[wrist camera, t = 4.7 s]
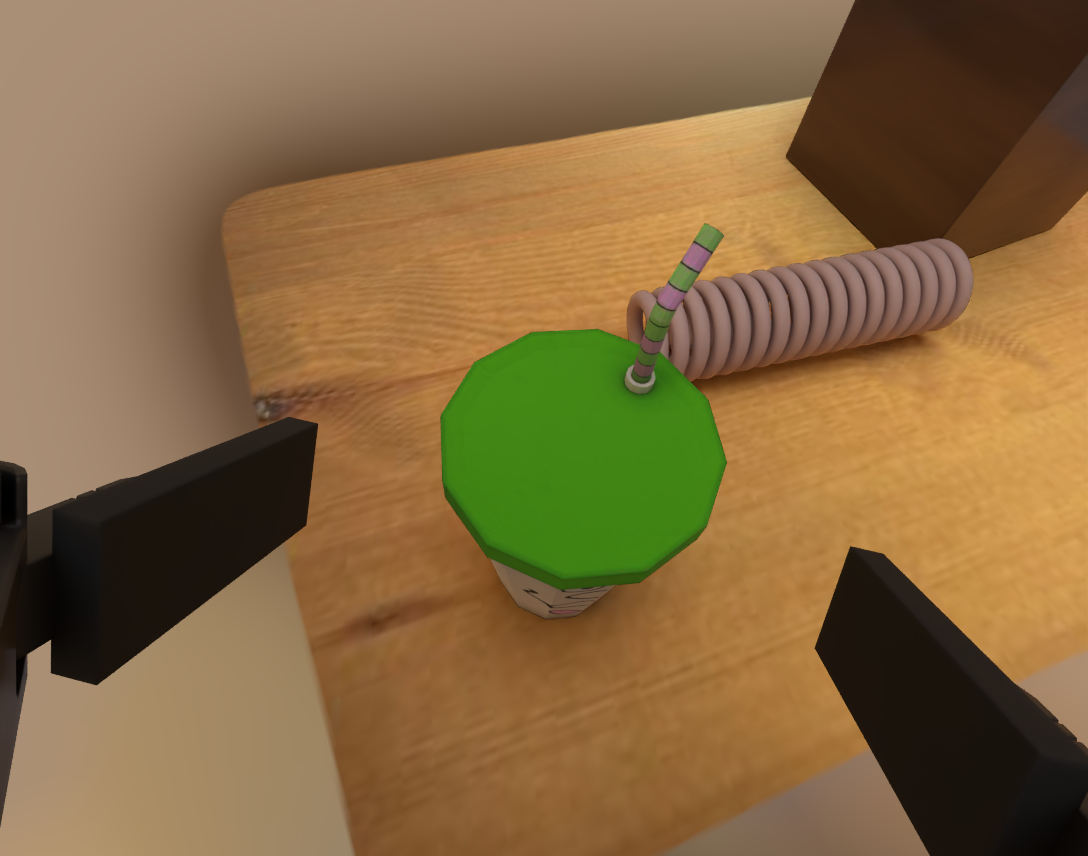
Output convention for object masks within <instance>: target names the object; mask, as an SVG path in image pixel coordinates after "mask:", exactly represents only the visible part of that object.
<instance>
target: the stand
mask: <svg viewBox="0 0 1088 856" xmlns="http://www.w3.org/2000/svg"><path fill="white" fill-rule="evenodd" d="M786 157H787V158H788V159H789V160H790V161H791V162H792V163H793V164H794V165H795V166H796V167H797V168H798V169H799V170H800V171H801V172H802V173H803V174H804V175H805V176H806V177H807V178H808V179H809V180H810V181H811V182H812V183H813V184H814V185H815V186H816V187H817V188H818V189H819V190H820V191H821V192H822V193H823V194H824V195H825V196H826V197H827V198H828V199H829V200H830V201H831V202H832V203H833V204H834V205H835V206H836V207H837V208H838V209H839V210H840V211H841V212H842V213H843V214H844V215H845V216H846V217H847V218H848V219H849V220H850V221H851V222H852V223H853V224H854V225H855V226H856V227H857V228H858V229H859V230H860V231H861V232H862V233H863V234H864V235H865V236H866V237H867V238H868V239H869V240H870V241H871V242H872V243H873V244H874V245H875V246H876V247H877V248H878V249H880V248H887V247H888V248H891V247H893V246H897V245H904V244H905V245H907V244H910V243H914V242H921V241H922V242H924V241H927V240H931V239H945V240H949V241H951V242H953V243H954V244H956V245H957V246H959V247H960V248H961V249H962V250H963V251H964V253H965V254H966V256H967V257H968V258H970V257H973V256H976V255H979V254H981V253H984V252H987V251H990V250H993V249H995V248H998V247H1001V246H1004V245H1007V244H1009V243H1012V242H1015V241H1018V240H1021V239H1024V238H1026V237H1029V236H1032V235H1035V234H1038V233H1040V232H1043V231H1046V230H1049V229H1051V228H1053V227H1054V226H1055V224H1056V223H1057V222H1058V221H1059V220H1060V219H1061V218H1062V217H1063V216H1064V215H1065V214H1066V213H1067V212H1068V211H1069V210H1070V209H1071V208H1072V207H1073V206H1074V205H1075V204H1076V203H1077V202H1078V201H1079V200H1080V199H1081V198H1082V197H1083V195H1084V194H1085V193H1086V192H1087V191H1088V0H855V2H854V4H853V6H852V9H851V11H850V13H849V15H848V18H847V20H846V22H845V24H844V27H843V29H842V31H841V33H840V36H839V38H838V40H837V42H836V44H835V47H834V49H833V51H832V53H831V56H830V58H829V60H828V62H827V65H826V67H825V69H824V72H823V74H822V76H821V78H820V80H819V83H818V85H817V87H816V89H815V92H814V94H813V96H812V98H811V101H810V103H809V105H808V107H807V110H806V112H805V114H804V116H803V119H802V121H801V123H800V125H799V128H798V130H797V132H796V134H795V137H794V139H793V141H792V143H791V146H790V148H789V150H788V152H787V155H786Z"/></svg>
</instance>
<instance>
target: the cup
mask: <svg viewBox="0 0 1088 856" xmlns="http://www.w3.org/2000/svg"><path fill="white" fill-rule="evenodd" d="M723 237H724V235H723V234H722V233H721V232H720V231H718V230H717V229H716V228H714V227H712V226H710V225H708V224H704V225H703V227H702V229H701V230H700V232H699V233H698V235H697V236H696V238H695V240H694V241H693V243H692V244H691V246H690V248H689V249H688V251H687V252H686V254H685V255H684V257H683V259H682V260H681V262H680V263H679V265H678V267H677V268H676V270H675V271H674V273H673V275H672V276H671V278H670V279H669V281H668V282H667V284H666V286H665V287H664V289H663V290H662V292H661V294H660V295H659V297H658V299H657V301H656V303H655V305H654V307H653V309H652V311H651V313H650V316H649V319H648V322H647V325H646V328H645V331H644V335H643V338H642V341H641V344H640V345H639V344H637V343H634V342H631V341H629V340H626V339H623V338H621V337H618V336H615V335H612V334H610V333H607V332H604V331H602V330H599V329H589V330H567V331H546V332H531V333H529V334H527V335H525V336H523V337H521V338H519V339H518V340H516V341H514V342H512V343H510V344H508V345H506V346H504V347H502V348H500V349H499V350H497V351H495V352H493V353H491V354H489V355H487V356H485V357H483V358H481V359H480V360H478V361H476V362H474V364H473V365H472V367H471V368H470V370H469V372H468V373H467V375H466V376H465V378H464V379H463V381H462V383H461V384H460V386H459V387H458V389H457V390H456V392H455V394H454V395H453V397H452V398H451V400H450V401H449V403H448V405H447V406H446V408H445V409H444V411H443V413H442V414H441V450H442V482H443V487H444V493H445V497H446V499H447V501H448V502H449V504H450V505H451V507H452V508H453V509H454V511H455V512H456V514H457V515H458V517H459V518H460V519H461V521H462V522H463V524H464V525H465V526H466V528H467V529H468V531H469V532H470V534H471V535H472V536H473V538H474V539H475V541H476V542H477V543H478V545H479V546H480V548H481V549H482V551H483V552H484V553H485V555H486V556H487V557H488V558H490V559H491V561H492V564H493V566H494V568H495V570H496V572H497V574H498V576H499V578H500V581H501V583H502V584H503V585H504V587H505V588H506V590H507V591H508V593H509V594H510V595H511V597H512V598H513V600H514V601H515V603H516V604H517V605H518V607H520V608H522V609H525V610H527V611H529V612H531V613H533V614H535V615H538V616H540V617H542V618H544V619H554V618H565V617H575V616H577V615H578V614H580V613H581V612H582V611H584V610H585V609H586V608H588V607H589V606H590V605H592V604H593V603H594V602H596V601H597V600H598V599H600V598H601V597H602V596H603V595H605V594H606V593H607V592H608V591H610V590H611V589H612V588H613V587H615V586H616V585H622V584H633V583H640V582H641V581H643V580H644V579H645V578H647V577H648V576H649V575H651V574H652V573H653V572H655V571H656V570H657V569H658V568H660V567H661V566H662V565H664V564H665V563H666V562H668V561H669V560H670V559H672V558H673V557H674V556H676V555H677V554H678V553H680V552H681V551H682V550H684V549H685V548H686V547H687V546H689V545H690V544H691V543H693V542H694V541H695V540H697V539H698V537H699V536H700V535H701V533H702V532H703V531H704V529H705V528H706V527H707V524H708V521H709V517H710V514H711V511H712V508H713V505H714V502H715V498H716V495H717V492H718V489H719V486H720V483H721V480H722V476H723V473H724V470H725V467H726V464H727V461H726V457H725V454H724V451H723V447H722V444H721V440H720V437H719V434H718V430H717V427H716V424H715V420H714V417H713V413H712V410H711V407H710V403H709V400H708V399H707V398H706V397H705V396H704V395H703V394H702V393H701V392H700V391H699V390H698V389H697V388H696V387H695V386H694V385H693V384H692V383H691V382H690V381H689V380H688V379H687V378H686V377H685V376H684V375H683V374H682V373H681V372H680V371H679V370H678V369H677V368H676V367H675V366H674V365H673V364H672V363H671V362H670V361H669V360H668V359H667V358H666V357H665V356H664V355H663V354H662V353H661V352H660V350H661V347H662V344H663V342H664V339H665V336H666V333H667V330H668V328H669V325H670V322H671V320H672V318H673V316H674V314H675V312H676V310H677V308H678V306H679V305H680V303H681V302H682V300H683V299H684V297H685V296H686V294H687V292H688V291H689V289H690V288H691V286H692V285H693V283H694V282H695V280H696V278H697V277H698V275H699V274H700V272H701V271H702V269H703V268H704V266H705V265H706V263H707V261H708V260H709V258H710V257H711V255H712V254H713V252H714V251H715V249H716V247H717V246H718V244H719V243H720V241H721V240H722V238H723Z"/></svg>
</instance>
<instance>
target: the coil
mask: <svg viewBox="0 0 1088 856" xmlns="http://www.w3.org/2000/svg"><path fill="white" fill-rule="evenodd" d="M663 289H664V287H659V288H657V289H655V290H654V291H653V292H652V293H649V292H647V291H644V290H643V291H638V292H636V293H635V294H634V295H633V296H632V297H631V299H630V301H629V304H628V308H627V330H628V336H629V341H631V342H634V343H637V344H639V345H640V344H641V341H642V338H643V335H644V330H643V312H644V314H645V317H646V325H647V322H648V319H649V316H650V313H651V311H652V309H653V307H654V305H655V303H656V301H657V299H658V297H659V295H660V294H661V292H662V290H663ZM972 289H973V272H972V268H971V264H970V262H969V259H968V257H967V256H966V254H965V253H964V251H963V250H962V249H961V248H960V247H959V246H957V245H956V244H954V243H953V242H951V241H949V240H945V239H931V240H927V241H924V242H922V241H921V242H914V243H910V244H907V245H905V244H904V245H897V246H893V247H891V248H888V247H887V248H880V249H876V250H874V251H863V252H860V253H857V254H846V255H842V256H840V257H829V258H825V259H823V260H812V261H808V262H805V263H804V264H801V263H795V264H790V265H788V266H786V267H782V266H781V267H773V268H770V269H769V270H767V271H766V270H755V271H752V272H751V273H749V274H745V273H738V274H735V275H733V276H731V277H730V278H728V277H717V278H714V279H713V280H712V281H710V282H709V281H707V280H698V281H696V282H694V283H693V285H692V286H691V288H690V289H689V291H688V292H687V294H686V296H685V297H684V299H683V300H682V302H683V305H682V302H681V303H680V305H679V306H678V308H677V310H676V312H675V314H674V316H673V318H672V320H671V322H670V325H669V328H668V330H667V333H666V336H665V339H664V342H663V344H662V347H661V350H660V352H661V353H662V354H663V355H664V356H665V357H666V358H667V359H668V360H669V361H670V362H671V363H672V364H673V365H674V366H675V367H676V368H677V369H678V370H679V371H680V372H681V373H682V374H683V375H684V376H685V377H686V378H687V379H688V380H689V381H690V382H692V381H693V380H695V379H709V378H711V377H713V376H714V375H728V374H730V373H732V372H733V371H746V370H749V369H751V368H752V367H765V366H768V365H770V364H771V363H773V364H779V363H784V362H787V361H788V360H799V359H802V358H805V357H807V356H818V355H821V354H823V353H825V352H836V351H839V350H842V349H850V348H855V347H858V346H860V345H870V344H873V343H876V342H883V341H888V340H891V339H894V338H903V337H906V336H909V335H916V334H921V333H924V332H927V331H936V330H939V329H942V328H944V327H946V326H948V325H950V324H951V323H952V322H954V321H955V320H956V319H957V318H958V317H959V316H960V315H961V314H962V313H963V311H964V310H965V308H966V306H967V304H968V302H969V300H970V297H971V294H972ZM787 294H788V298H787ZM769 301H770V304H771V311H772V317H773V322H772V319H771V315H770V308H769ZM790 318H791V321H792V324H791V321H790ZM809 322H810V323H809ZM669 345H670V348H671V351H672V352H671V354H670V352H669ZM729 348H730V350H729ZM689 349H691V351H692V352H691V353H690V351H689ZM709 350H711V352H710V351H709Z"/></svg>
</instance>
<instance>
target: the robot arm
mask: <svg viewBox="0 0 1088 856" xmlns="http://www.w3.org/2000/svg"><path fill="white" fill-rule="evenodd" d="M317 429H318V424H317V423H313V422H309V421H304V420H300V419H296V418H291V417H287V418H285V419H282V420H280V421H277V422H275V423H272V424H270V425H267V426H264V427H262V428H259V429H257V430H254V431H252V432H249V433H247V434H244V435H242V436H239V437H236V438H234V439H232V440H229V441H226V442H224V443H221V444H219V445H216V446H213V447H211V448H209V449H206V450H203V451H201V452H198V453H196V454H193V455H190V456H188V457H185V458H183V459H180V460H178V461H175V462H173V463H170V464H167V465H165V466H162V467H160V468H158V469H155V470H152V471H150V472H147V473H144V474H142V475H139V476H136V477H131V478H126V479H120V480H118V481H115V482H112V483H109V484H107V485H104V486H102V487H99V488H97V489H96V491H93V490H91V491H89V492H86V493H83V494H81V495H78V496H77V498H76V499H75V498H70V499H68V500H65V501H63V502H60V503H57V504H55V505H52V506H50V507H47V508H44V509H42V510H39V511H36V512H34V513H32V514H29V515H27V473H26V470H25V468H23V467H21V466H18V465H16V464H14V463H9V462H4V461H0V825H1V819H2V814H3V808H4V802H5V797H6V792H7V786H8V780H9V775H10V769H11V764H12V758H13V752H14V747H15V741H16V735H17V730H18V724H19V719H20V713H21V707H22V702H23V696H24V691H25V685H26V680H27V654H28V653H30V652H32V651H33V650H35V649H36V648H38V647H40V646H41V645H43V644H45V643H46V642H48V641H49V640H51V673H52V674H56V675H60V676H64V677H67V678H71V679H75V680H78V681H82V682H86V683H90V684H94V685H98V684H99V683H100V682H102V681H103V680H104V679H106V678H107V677H108V676H110V675H111V674H112V673H114V672H115V671H116V670H117V669H119V668H120V667H121V666H123V665H124V664H125V663H127V662H128V661H129V660H130V659H132V658H133V657H134V656H136V655H137V654H138V653H140V652H141V651H142V650H144V649H145V648H146V647H148V646H149V645H150V644H151V643H153V642H154V641H155V640H157V639H158V638H159V637H161V636H162V635H163V634H165V633H166V632H167V631H168V630H170V629H171V628H172V627H174V626H175V625H176V624H178V623H179V622H180V621H181V620H183V619H184V618H186V616H188V615H189V614H191V613H192V612H193V611H195V610H196V609H197V608H199V607H200V606H201V605H202V604H204V603H205V602H206V601H208V600H209V599H210V598H212V597H213V596H214V595H215V594H217V593H218V592H219V591H221V590H222V589H223V588H225V587H226V586H227V585H229V584H230V583H231V582H233V581H234V580H235V579H237V578H238V577H239V576H240V575H242V574H243V573H244V572H246V571H247V570H248V569H250V568H251V567H252V566H254V565H255V564H256V563H257V562H259V561H260V560H261V559H263V558H264V557H265V556H267V555H268V554H269V553H271V552H272V551H273V550H274V549H276V548H277V547H278V546H280V545H281V544H282V543H284V542H285V541H286V540H288V539H289V538H290V537H292V536H293V535H294V534H295V533H297V532H298V531H299V530H301V529H302V528H303V527H305V526H306V523H307V514H308V506H309V497H310V489H311V480H312V472H313V463H314V455H315V446H316V438H317ZM815 650H816V651H817V653H818V655H819V657H820V659H821V660H822V662H823V664H824V666H825V668H826V669H827V671H828V673H829V675H830V677H831V678H832V680H833V682H834V684H835V686H836V687H837V689H838V691H839V693H840V695H841V696H842V698H843V700H844V702H845V704H846V705H847V707H848V709H849V711H850V713H851V714H852V716H853V718H854V720H855V722H856V723H857V725H858V727H859V729H860V731H861V732H862V734H863V736H864V738H865V740H866V741H867V743H868V745H869V747H870V749H871V750H872V752H873V754H874V756H875V758H876V759H877V761H878V763H879V765H880V767H881V768H882V770H883V772H884V774H885V776H886V777H887V779H888V781H889V783H890V784H891V786H892V788H893V790H894V792H895V793H896V795H897V797H898V799H899V801H900V803H901V804H902V806H903V808H904V810H905V812H906V813H907V815H908V817H909V819H910V821H911V823H912V824H913V826H914V828H915V830H916V831H917V833H918V835H919V837H920V839H921V841H922V842H923V844H924V846H925V848H926V849H927V851H928V853H929V855H930V856H1088V748H1087V747H1086V746H1085V745H1084V744H1082V743H1081V742H1077V738H1076V737H1075V736H1074V735H1073V734H1072V733H1071V732H1070V731H1069V730H1068V729H1067V728H1066V727H1065V726H1064V725H1063V724H1059V723H1058V719H1057V718H1056V717H1055V716H1054V715H1053V714H1052V713H1051V712H1050V711H1049V710H1047V709H1046V707H1044V706H1043V705H1042V704H1041V703H1040V702H1039V701H1038V700H1037V699H1036V698H1035V697H1033V696H1032V695H1030V694H1029V693H1027V692H1026V691H1025V690H1023V689H1022V688H1020V687H1019V686H1017V685H1016V684H1014V683H1013V682H1012V681H1011V680H1010V679H1009V678H1008V677H1007V676H1006V675H1005V674H1004V673H1003V672H1002V671H1001V670H1000V669H999V668H998V667H997V666H996V665H995V664H994V663H993V662H992V661H991V660H990V659H989V658H988V657H987V656H986V655H985V654H984V653H983V652H982V651H981V650H980V649H979V648H978V647H977V646H976V645H975V644H974V643H973V642H972V641H971V640H970V639H969V638H968V637H967V636H966V635H965V634H964V633H963V632H962V631H961V630H960V629H959V628H958V627H957V626H956V625H955V624H954V623H953V622H952V621H951V620H950V619H949V618H948V617H947V616H946V615H945V614H944V613H943V612H942V611H941V610H940V609H939V608H938V607H937V606H936V605H935V604H934V603H933V602H931V601H930V600H929V599H928V598H927V597H926V596H925V595H924V594H923V593H922V592H921V591H920V590H919V589H918V588H917V587H916V586H915V585H914V584H913V583H912V582H911V581H910V580H909V579H908V578H907V577H906V576H905V575H904V574H903V573H902V572H901V571H900V570H899V569H898V568H897V567H896V566H895V565H894V564H893V563H892V562H891V561H890V560H889V559H888V558H887V557H886V556H885V555H884V554H882V553H877V552H873V551H869V550H864V549H860V548H856V547H851V546H850V549H849V552H848V554H847V557H846V560H845V563H844V566H843V569H842V572H841V574H840V577H839V580H838V583H837V586H836V589H835V592H834V594H833V597H832V600H831V603H830V606H829V609H828V612H827V614H826V617H825V620H824V623H823V626H822V629H821V632H820V634H819V637H818V640H817V643H816V646H815Z"/></svg>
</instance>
